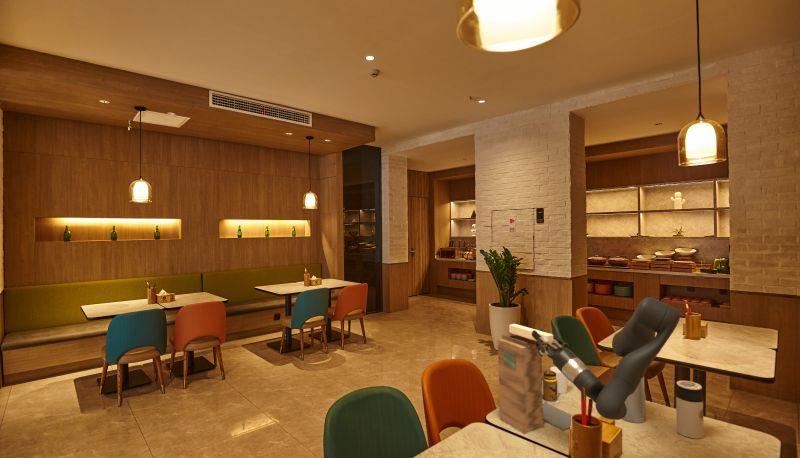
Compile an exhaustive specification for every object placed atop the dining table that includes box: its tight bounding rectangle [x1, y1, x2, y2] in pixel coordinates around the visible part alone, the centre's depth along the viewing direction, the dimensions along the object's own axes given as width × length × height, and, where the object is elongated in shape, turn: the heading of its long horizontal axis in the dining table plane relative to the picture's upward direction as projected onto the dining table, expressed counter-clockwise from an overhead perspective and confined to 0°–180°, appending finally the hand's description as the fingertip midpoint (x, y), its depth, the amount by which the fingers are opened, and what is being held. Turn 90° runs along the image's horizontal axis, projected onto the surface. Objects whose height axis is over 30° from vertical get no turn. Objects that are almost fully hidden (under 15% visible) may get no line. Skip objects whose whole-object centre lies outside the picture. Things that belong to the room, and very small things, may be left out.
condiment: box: [542, 370, 560, 404], centre depth 177 cm, size 7×8×12 cm
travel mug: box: [675, 380, 705, 440], centre depth 145 cm, size 8×8×18 cm
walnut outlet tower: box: [497, 333, 544, 435], centre depth 156 cm, size 10×13×34 cm
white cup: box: [549, 366, 569, 395], centre depth 185 cm, size 8×8×10 cm
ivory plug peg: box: [508, 323, 554, 344], centre depth 151 cm, size 3×19×3 cm, turn 28°
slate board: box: [543, 402, 573, 432], centre depth 161 cm, size 12×19×1 cm, turn 28°
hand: (536, 331), depth 148 cm, fingers closed on ivory plug peg, 3 cm apart
